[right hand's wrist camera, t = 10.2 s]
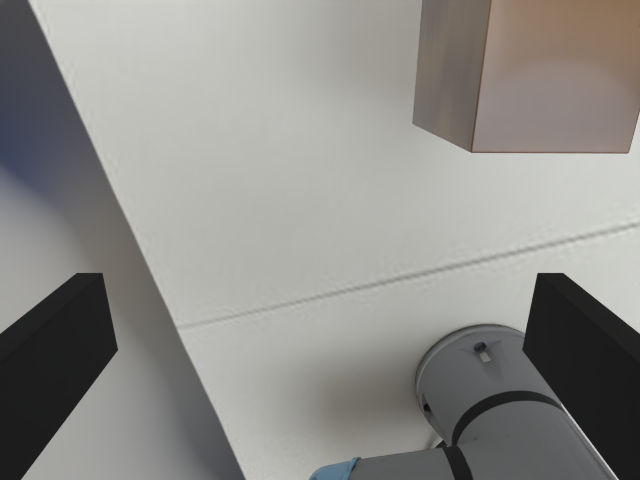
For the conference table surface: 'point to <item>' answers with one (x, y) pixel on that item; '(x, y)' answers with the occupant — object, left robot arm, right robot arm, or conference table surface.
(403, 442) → the conference table surface
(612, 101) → the box
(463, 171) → the conference table surface
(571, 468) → the right robot arm
